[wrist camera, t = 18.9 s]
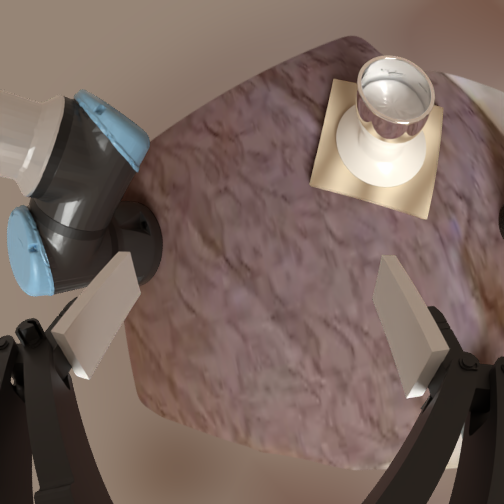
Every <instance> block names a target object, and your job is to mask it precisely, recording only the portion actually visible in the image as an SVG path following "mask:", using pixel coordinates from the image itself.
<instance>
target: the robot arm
mask: <svg viewBox="0 0 504 504" xmlns="http://www.w3.org/2000/svg"><path fill="white" fill-rule="evenodd" d="M149 146H150V140H149V137H148V135H147V133H146V132H145V131H144V130H143V129H141V128H140V127H139V126H138V125H137V124H135V123H134V122H133V121H131V120H130V119H129V118H127V117H126V116H125V115H123V114H122V113H120V112H119V111H118V110H116V109H115V108H113V107H112V106H110V105H109V104H107V103H106V102H104V101H103V100H101V99H100V98H98V97H97V96H95V95H93V94H91V93H89V92H88V91H86V90H83V89H82V90H80V91H79V92H78V93H77V94H75V95H74V99H69V98H67V97H64V96H62V95H57V96H55V97H53V98H51V99H49V100H47V101H45V102H36V101H33V100H30V99H28V98H24V97H21V96H18V95H15V94H12V93H9V92H6V91H3V90H0V177H5V178H9V179H14V180H15V181H16V182H17V184H18V186H19V188H20V190H21V192H22V194H23V195H24V196H26V197H31V200H30V203H29V205H28V206H27V207H26V206H24V205H21V206H20V207H16V208H15V209H14V210H13V211H12V213H11V215H10V217H9V221H8V228H7V246H8V254H9V259H10V264H11V267H12V270H13V274H14V276H15V278H16V281H17V283H18V284H19V286H20V287H21V289H22V290H23V291H24V292H25V293H27V294H28V295H30V296H42V295H49V296H52V295H53V294H57V293H62V292H66V291H70V290H75V289H80V288H84V287H86V289H85V290H84V291H83V292H82V293H81V294H80V296H79V297H76V298H74V299H73V300H72V301H70V302H69V303H68V304H67V305H66V306H65V308H64V309H63V311H61V312H60V314H59V316H57V317H56V319H55V320H54V321H53V322H52V324H51V325H50V326H49V328H48V329H47V330H46V331H45V332H44V331H43V329H42V327H41V325H40V323H39V321H38V320H37V319H34V318H32V319H27V320H25V321H23V322H22V323H21V324H19V326H18V327H17V328H16V331H15V333H16V335H17V337H18V338H19V340H20V342H21V343H20V344H16V342H15V341H14V339H13V337H12V336H10V335H7V336H3V337H1V338H0V504H33V491H32V455H33V459H34V464H35V469H36V473H37V477H38V481H39V485H40V489H39V491H37V492H35V495H34V499H35V504H113V502H112V500H111V499H110V496H109V494H108V491H107V489H106V487H105V485H104V482H103V480H102V477H101V475H100V472H99V470H98V467H97V465H96V462H95V459H94V457H93V454H92V451H91V448H90V445H89V442H88V439H87V436H86V433H85V430H84V426H83V423H82V419H81V416H80V412H79V409H78V405H77V401H76V396H75V392H74V388H73V383H72V379H71V376H70V374H69V371H70V369H71V368H72V369H73V370H74V372H75V374H76V375H77V376H78V377H82V378H85V379H89V380H90V378H91V377H92V375H93V373H94V371H95V369H96V368H97V366H98V364H99V362H100V360H101V359H102V357H103V355H104V353H105V352H106V350H107V348H108V347H109V345H110V343H111V341H112V339H113V338H114V336H115V335H116V333H117V331H118V330H119V328H120V326H121V325H122V323H123V321H124V320H125V318H126V317H127V315H128V313H129V312H130V310H131V308H132V307H133V305H134V304H135V302H136V301H137V299H138V297H139V296H140V294H141V292H140V288H139V286H141V285H143V284H145V283H147V282H148V281H149V280H150V279H151V278H152V277H153V276H154V274H155V273H156V271H157V269H158V267H159V264H160V261H161V256H162V236H161V231H160V227H159V225H158V222H157V220H156V218H155V216H154V215H153V214H152V212H151V211H150V210H149V209H148V208H147V207H145V206H144V205H142V204H140V203H137V202H130V201H121V199H122V197H123V195H124V193H125V191H126V189H127V187H128V186H129V184H130V182H131V180H132V178H133V176H134V175H135V173H136V172H138V171H139V166H140V164H141V162H142V160H143V158H144V157H145V155H146V153H147V151H148V149H149ZM120 201H121V202H120ZM372 300H373V303H374V305H375V308H376V310H377V313H378V316H379V318H380V321H381V324H382V326H383V329H384V332H385V335H386V337H387V340H388V343H389V346H390V349H391V352H392V355H393V358H394V361H395V364H396V367H397V370H398V373H399V376H400V379H401V383H402V386H403V389H404V393H405V396H406V398H412V397H418V396H422V395H423V394H424V392H425V391H426V389H427V387H428V388H429V391H430V396H429V397H428V399H427V400H426V402H425V403H424V405H423V406H422V407H421V409H422V411H421V413H420V415H419V417H418V419H417V421H416V422H415V424H414V426H413V428H412V430H411V431H410V433H409V435H408V437H407V438H406V440H405V442H404V443H403V445H402V447H401V448H400V450H399V452H398V453H397V455H396V456H395V458H394V460H393V461H392V463H391V464H390V466H389V467H388V469H387V470H386V472H385V473H384V475H383V476H382V477H381V479H380V480H379V482H378V483H377V484H376V486H375V487H374V488H373V490H372V491H371V492H370V494H369V495H368V496H367V498H366V499H365V500H364V501H363V503H362V504H426V503H427V502H428V500H429V498H430V497H431V495H432V493H433V491H434V489H435V488H436V486H437V484H438V482H439V480H440V478H441V476H442V474H443V472H444V470H445V468H446V466H447V464H448V462H449V459H450V457H451V455H452V453H453V450H454V448H455V446H456V443H457V441H458V438H459V436H460V433H461V431H462V428H463V426H464V433H463V440H462V447H461V453H460V458H459V464H458V469H457V474H456V478H455V482H454V487H453V490H452V494H451V498H450V502H449V504H504V357H500V358H498V359H497V361H496V362H495V364H494V365H487V364H480V363H479V360H478V359H477V358H476V357H475V356H474V355H472V354H471V353H468V352H463V350H462V348H461V346H460V344H459V342H458V340H457V338H456V337H455V335H454V333H453V331H452V329H450V326H449V324H448V323H447V321H446V319H445V317H444V316H443V314H442V313H441V312H440V311H439V310H438V309H437V308H436V307H434V306H430V307H427V306H426V304H425V303H424V301H423V299H422V298H421V296H420V294H419V292H418V291H417V289H416V287H415V286H414V284H413V283H412V281H411V279H410V278H409V276H408V274H407V273H406V271H405V270H404V268H403V267H402V265H401V263H400V262H399V260H398V259H397V257H396V256H395V255H382V257H381V262H380V267H379V272H378V276H377V281H376V285H375V290H374V294H373V298H372ZM11 377H12V378H13V379H14V384H13V385H12V383H11ZM464 423H465V424H464Z"/></svg>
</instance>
